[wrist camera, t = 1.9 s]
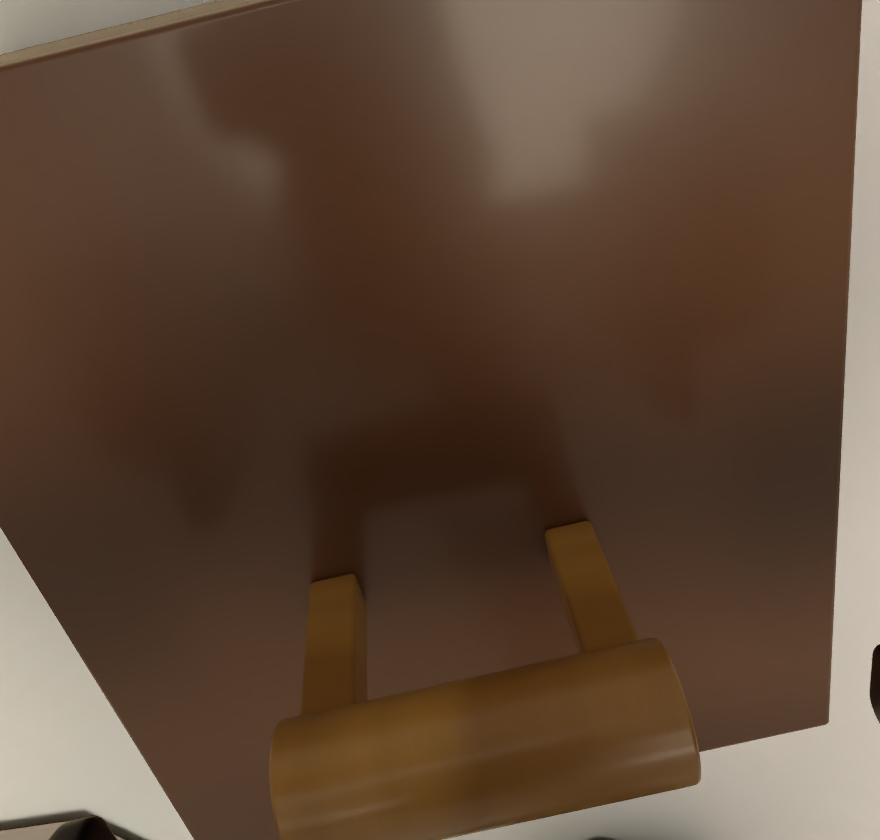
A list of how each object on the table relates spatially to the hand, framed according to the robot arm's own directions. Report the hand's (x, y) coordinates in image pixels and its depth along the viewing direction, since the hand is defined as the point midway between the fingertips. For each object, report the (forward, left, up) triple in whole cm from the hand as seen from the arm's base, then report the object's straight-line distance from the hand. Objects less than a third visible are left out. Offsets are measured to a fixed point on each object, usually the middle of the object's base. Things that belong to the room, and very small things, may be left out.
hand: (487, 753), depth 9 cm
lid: (+1, +1, -4) cm, 4 cm away
